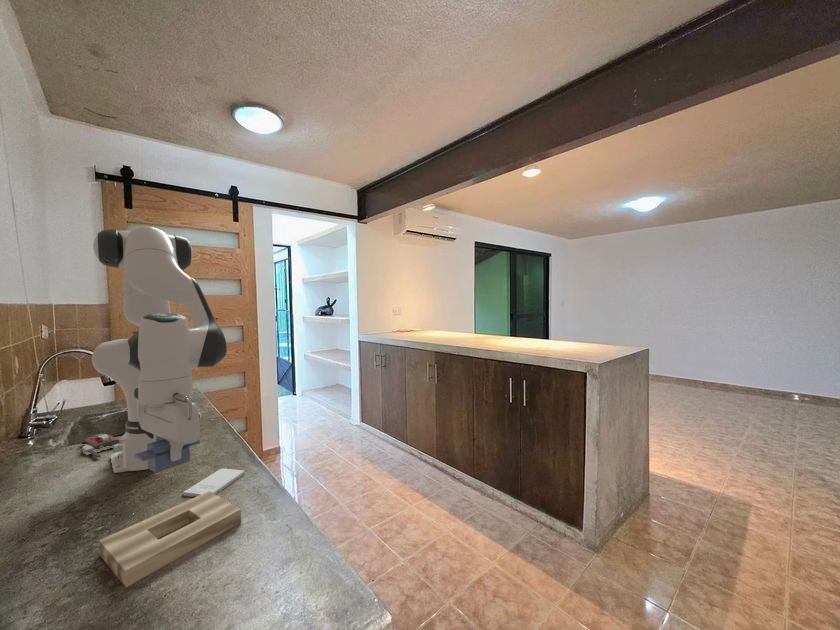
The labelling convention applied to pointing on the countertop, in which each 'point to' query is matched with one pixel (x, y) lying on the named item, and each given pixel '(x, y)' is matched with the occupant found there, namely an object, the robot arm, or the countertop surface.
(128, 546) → the wooden board with hole
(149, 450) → the block
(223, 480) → the external hard drive
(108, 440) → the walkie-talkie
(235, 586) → the countertop surface
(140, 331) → the robot arm
